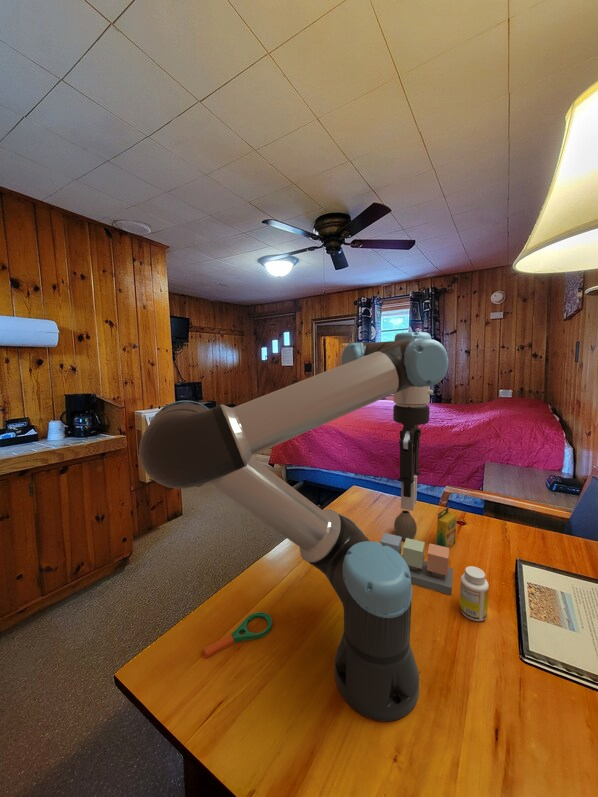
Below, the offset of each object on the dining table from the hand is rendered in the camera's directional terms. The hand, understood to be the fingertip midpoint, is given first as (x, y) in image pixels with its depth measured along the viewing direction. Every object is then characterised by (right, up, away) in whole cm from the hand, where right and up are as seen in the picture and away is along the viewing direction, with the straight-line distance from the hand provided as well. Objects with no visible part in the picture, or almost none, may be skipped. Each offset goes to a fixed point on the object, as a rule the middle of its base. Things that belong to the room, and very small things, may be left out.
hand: (408, 505), depth 74 cm
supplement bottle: (+15, -25, 0) cm, 29 cm away
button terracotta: (+11, -19, +10) cm, 24 cm away
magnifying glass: (-38, -27, -5) cm, 47 cm away
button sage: (+6, -19, +13) cm, 23 cm away
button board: (+6, -23, +13) cm, 27 cm away
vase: (+9, -21, +30) cm, 38 cm away
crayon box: (+20, -21, +25) cm, 38 cm away
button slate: (0, -19, +15) cm, 24 cm away
